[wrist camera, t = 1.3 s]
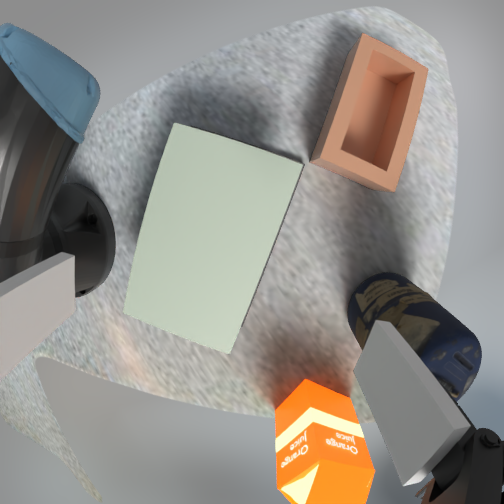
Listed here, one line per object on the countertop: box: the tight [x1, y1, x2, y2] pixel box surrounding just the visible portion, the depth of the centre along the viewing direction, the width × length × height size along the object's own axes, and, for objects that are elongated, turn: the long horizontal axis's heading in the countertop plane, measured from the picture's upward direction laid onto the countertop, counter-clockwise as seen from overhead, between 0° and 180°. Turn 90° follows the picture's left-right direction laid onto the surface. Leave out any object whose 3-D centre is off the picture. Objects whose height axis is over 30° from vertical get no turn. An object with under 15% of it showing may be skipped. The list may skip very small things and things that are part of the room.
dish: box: [310, 33, 428, 192], centre depth 26 cm, size 8×15×6 cm, turn 160°
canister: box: [348, 273, 482, 402], centre depth 25 cm, size 10×10×18 cm
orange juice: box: [275, 379, 375, 504], centre depth 28 cm, size 8×9×20 cm
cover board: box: [123, 123, 303, 354], centre depth 25 cm, size 11×18×2 cm, turn 160°
